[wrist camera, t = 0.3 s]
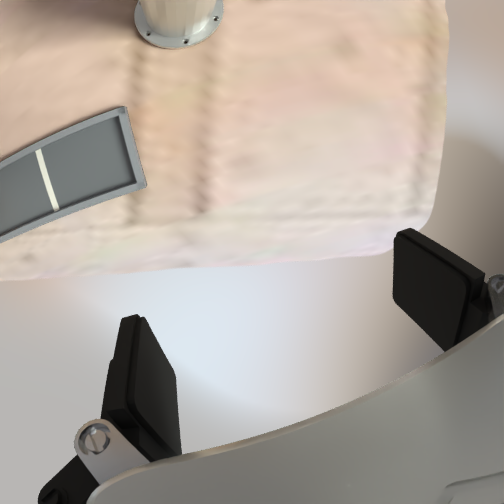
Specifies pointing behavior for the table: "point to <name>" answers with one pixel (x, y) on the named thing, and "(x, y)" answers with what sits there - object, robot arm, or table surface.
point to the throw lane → (69, 173)
